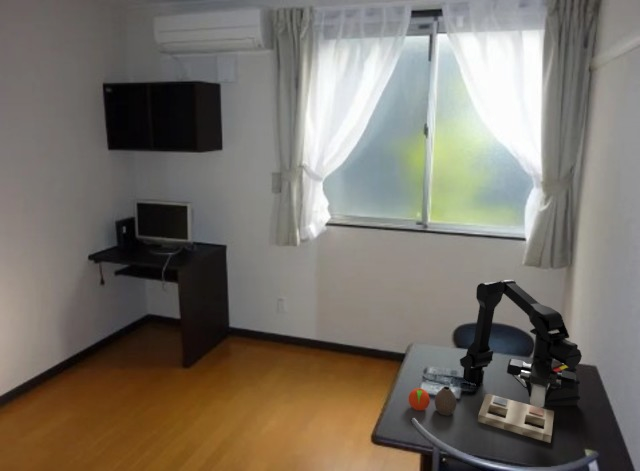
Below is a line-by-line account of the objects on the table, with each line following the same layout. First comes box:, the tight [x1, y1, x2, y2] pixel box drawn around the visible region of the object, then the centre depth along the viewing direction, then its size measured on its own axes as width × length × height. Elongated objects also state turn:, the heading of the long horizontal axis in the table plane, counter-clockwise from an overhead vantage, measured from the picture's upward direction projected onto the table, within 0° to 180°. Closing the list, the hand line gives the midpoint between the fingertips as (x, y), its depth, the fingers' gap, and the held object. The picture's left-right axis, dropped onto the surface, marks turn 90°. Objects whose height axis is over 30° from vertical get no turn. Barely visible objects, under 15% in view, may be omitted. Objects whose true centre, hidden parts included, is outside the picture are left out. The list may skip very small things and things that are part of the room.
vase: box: [434, 385, 457, 416], centre depth 156 cm, size 7×7×9 cm
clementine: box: [408, 387, 431, 411], centre depth 157 cm, size 8×7×7 cm
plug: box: [529, 384, 548, 408], centre depth 146 cm, size 5×5×8 cm
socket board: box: [477, 393, 555, 444], centre depth 153 cm, size 21×14×3 cm, turn 62°
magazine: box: [544, 363, 581, 407], centre depth 161 cm, size 4×13×15 cm, turn 92°
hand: (537, 398), depth 146 cm, fingers closed on plug, 4 cm apart
